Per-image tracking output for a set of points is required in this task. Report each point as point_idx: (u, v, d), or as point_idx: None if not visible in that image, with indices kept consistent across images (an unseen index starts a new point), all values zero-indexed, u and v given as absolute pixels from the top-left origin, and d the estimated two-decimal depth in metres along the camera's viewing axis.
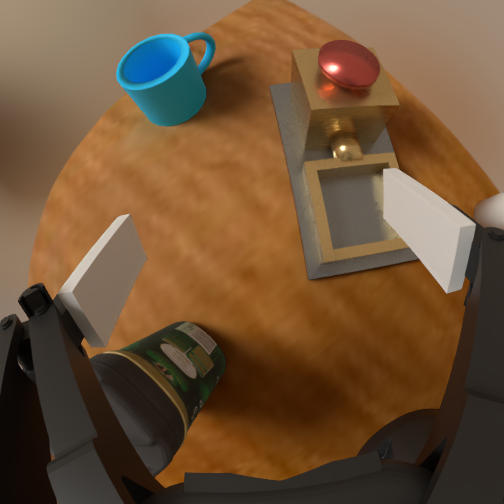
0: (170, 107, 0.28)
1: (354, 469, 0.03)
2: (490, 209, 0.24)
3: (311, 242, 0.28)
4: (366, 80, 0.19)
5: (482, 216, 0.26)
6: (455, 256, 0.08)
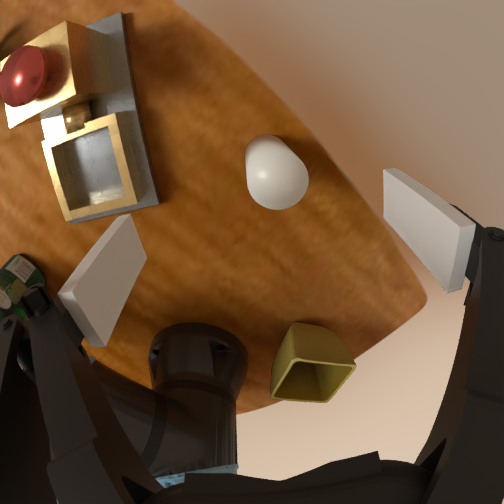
0: None
1: (354, 469, 0.03)
2: None
3: None
4: (28, 97, 0.15)
5: None
6: (455, 256, 0.08)
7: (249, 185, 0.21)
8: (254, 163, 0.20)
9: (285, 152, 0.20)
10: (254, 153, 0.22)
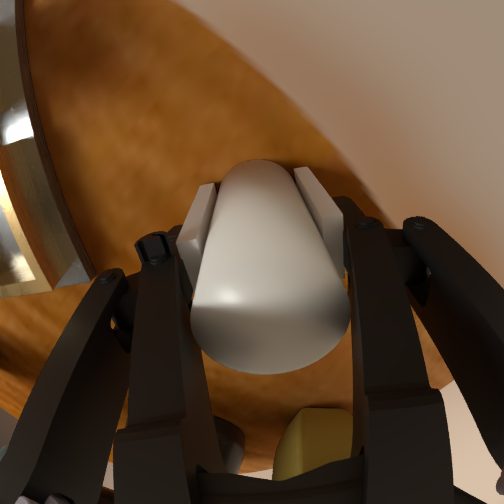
0: None
1: (354, 469, 0.03)
2: None
3: None
4: None
5: None
6: None
7: (198, 337, 0.08)
8: (203, 291, 0.07)
9: (291, 260, 0.07)
10: (215, 234, 0.09)
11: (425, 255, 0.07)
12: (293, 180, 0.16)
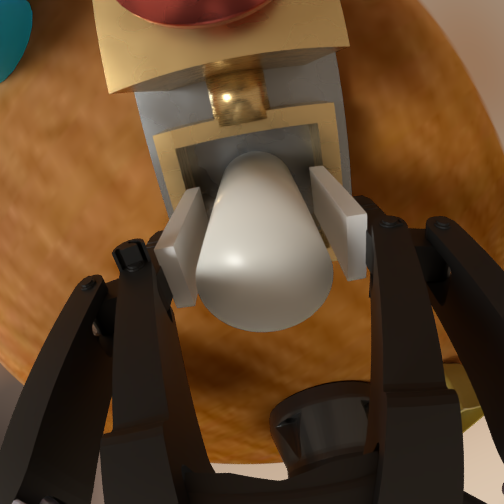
0: None
1: (354, 469, 0.03)
2: None
3: None
4: (239, 4, 0.05)
5: None
6: (348, 245, 0.10)
7: (202, 293, 0.10)
8: (207, 249, 0.09)
9: (279, 221, 0.08)
10: (218, 208, 0.11)
11: (446, 254, 0.07)
12: None
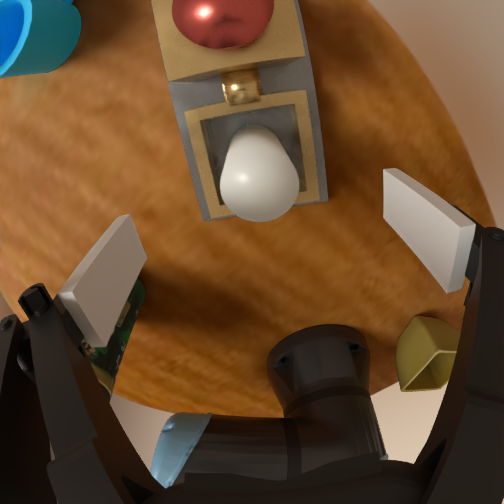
0: (37, 67, 0.17)
1: (354, 469, 0.03)
2: None
3: (203, 186, 0.27)
4: (244, 39, 0.12)
5: None
6: (455, 256, 0.08)
7: (223, 193, 0.16)
8: (227, 165, 0.16)
9: (267, 149, 0.15)
10: (231, 151, 0.18)
11: None
12: None
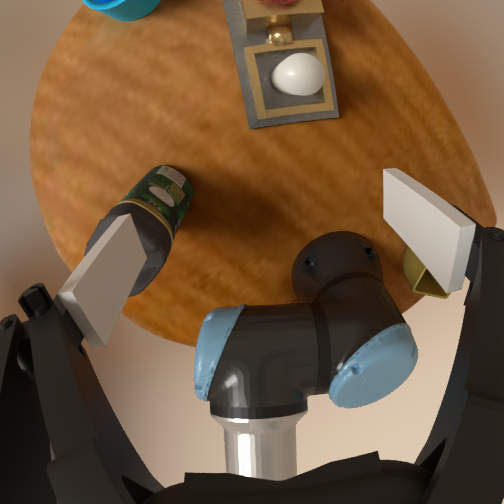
0: (132, 11, 0.25)
1: (354, 469, 0.03)
2: (273, 74, 0.29)
3: (250, 102, 0.34)
4: None
5: (272, 78, 0.31)
6: (455, 256, 0.08)
7: (281, 76, 0.24)
8: (284, 61, 0.23)
9: (306, 54, 0.23)
10: (282, 61, 0.25)
11: None
12: None
